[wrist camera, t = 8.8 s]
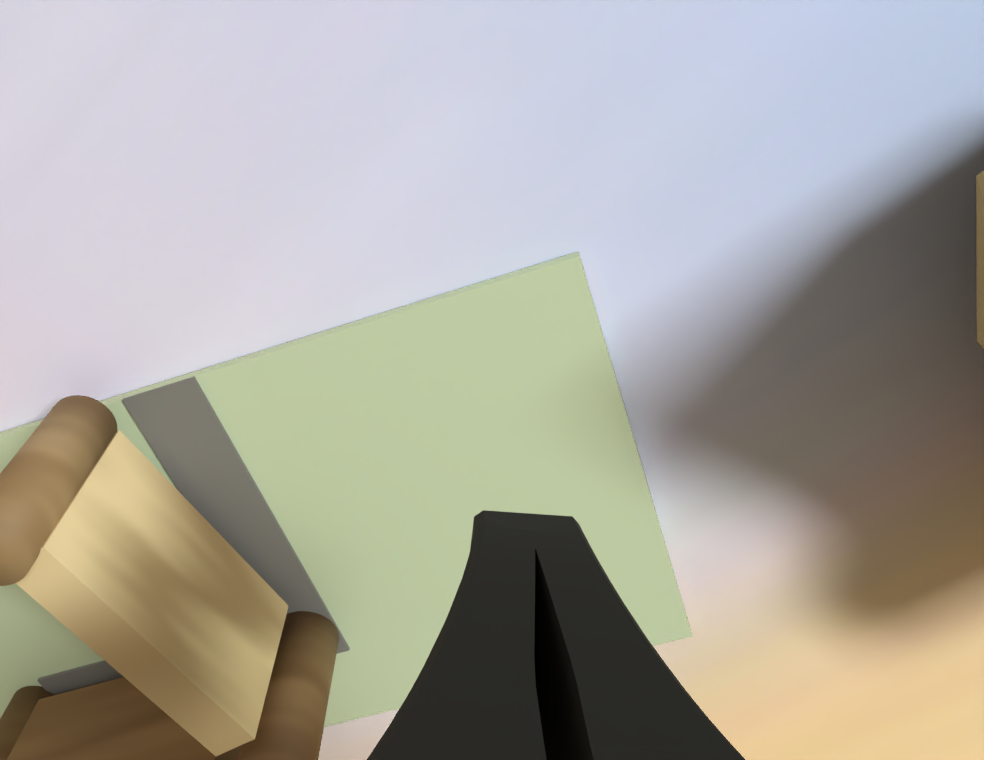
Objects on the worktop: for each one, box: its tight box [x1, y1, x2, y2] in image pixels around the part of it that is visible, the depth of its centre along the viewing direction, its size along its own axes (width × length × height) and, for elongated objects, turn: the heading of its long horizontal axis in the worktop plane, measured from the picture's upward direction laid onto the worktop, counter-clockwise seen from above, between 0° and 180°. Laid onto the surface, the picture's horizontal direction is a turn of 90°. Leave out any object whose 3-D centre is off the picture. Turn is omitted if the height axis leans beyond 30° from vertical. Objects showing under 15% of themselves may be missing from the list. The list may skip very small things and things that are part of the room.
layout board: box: [0, 252, 692, 727], centre depth 25 cm, size 13×22×1 cm, turn 108°
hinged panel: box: [0, 395, 288, 756], centre depth 21 cm, size 8×2×5 cm, turn 31°
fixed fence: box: [0, 611, 339, 760], centre depth 25 cm, size 2×11×6 cm, turn 108°
